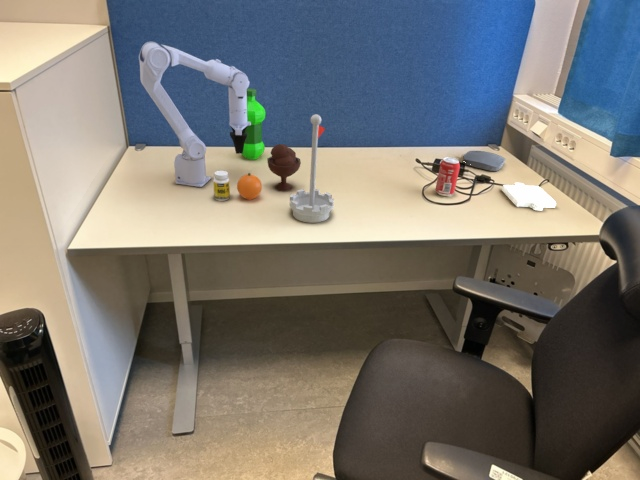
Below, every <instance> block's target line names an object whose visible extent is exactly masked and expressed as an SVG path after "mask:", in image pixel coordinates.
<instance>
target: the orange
mask: <svg viewBox="0 0 640 480" xmlns="http://www.w3.org/2000/svg"><path fill="white" fill-rule="evenodd" d="M236 189H237V192H238V194H239V195H240V196H241V197H242V198H244V199H245V200H249V201H250V200H251V201H252V200H254V199H255V198H257V197H258V196H259V195H260V194H261V193H262V192H261V191H262V190H263V184H262V182H261V180H260V179H259V177H258V176H257V175H254V174H251V173H247V174H244V175H243V176H241V177H240V178H239V179H238V181H237V184H236Z"/></svg>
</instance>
